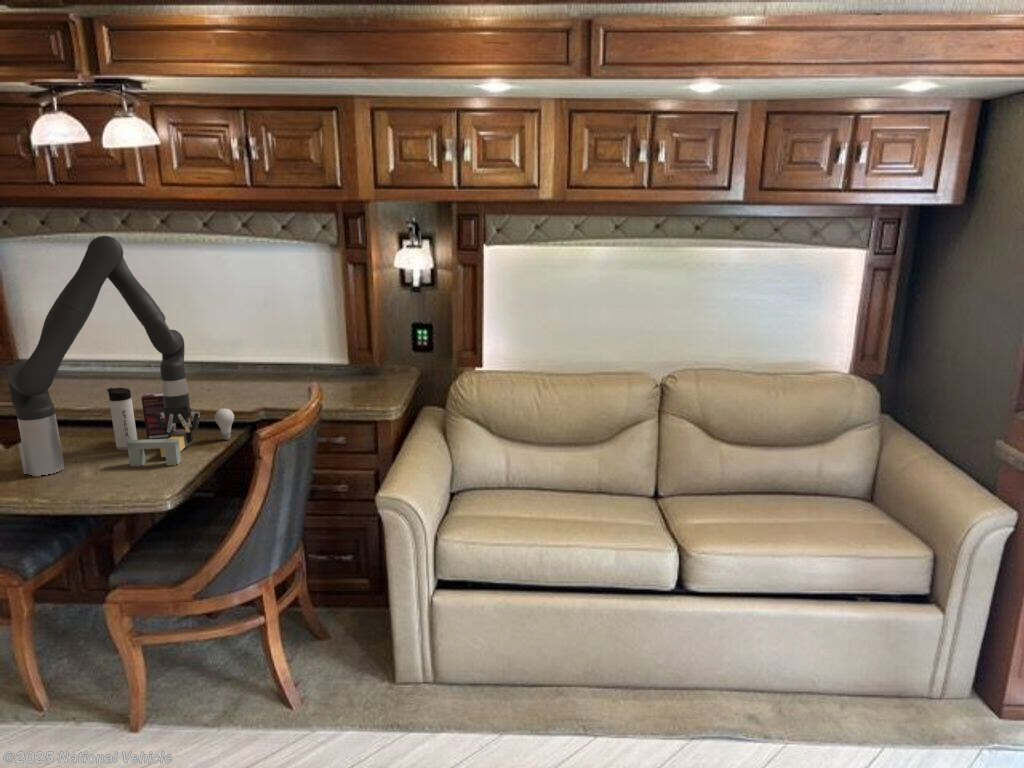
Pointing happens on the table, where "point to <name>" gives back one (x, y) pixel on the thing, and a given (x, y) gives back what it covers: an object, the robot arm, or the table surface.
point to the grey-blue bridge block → (138, 448)
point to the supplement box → (150, 408)
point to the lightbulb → (224, 422)
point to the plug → (182, 440)
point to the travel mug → (122, 417)
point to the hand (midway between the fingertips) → (181, 442)
